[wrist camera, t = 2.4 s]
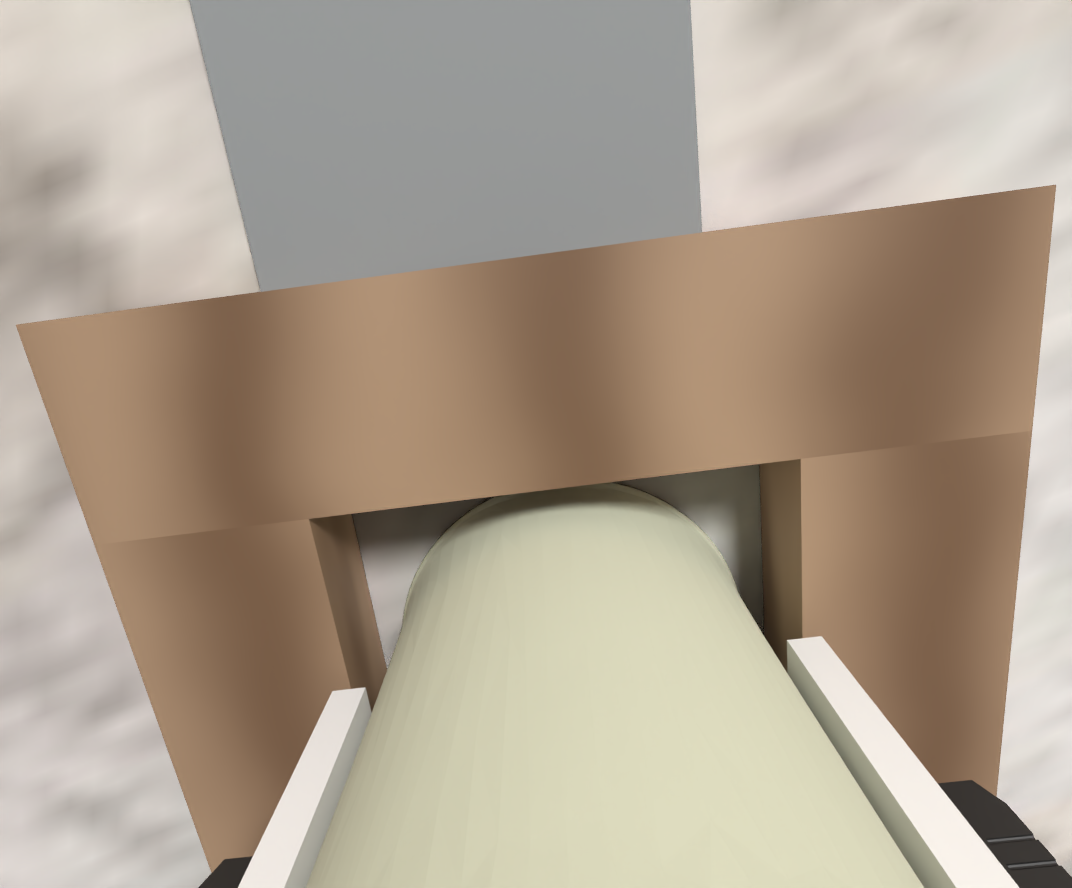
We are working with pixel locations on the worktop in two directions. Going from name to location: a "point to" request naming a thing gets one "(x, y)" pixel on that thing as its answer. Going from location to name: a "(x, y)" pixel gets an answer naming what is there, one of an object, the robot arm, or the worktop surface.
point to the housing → (568, 457)
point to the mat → (450, 129)
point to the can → (593, 721)
